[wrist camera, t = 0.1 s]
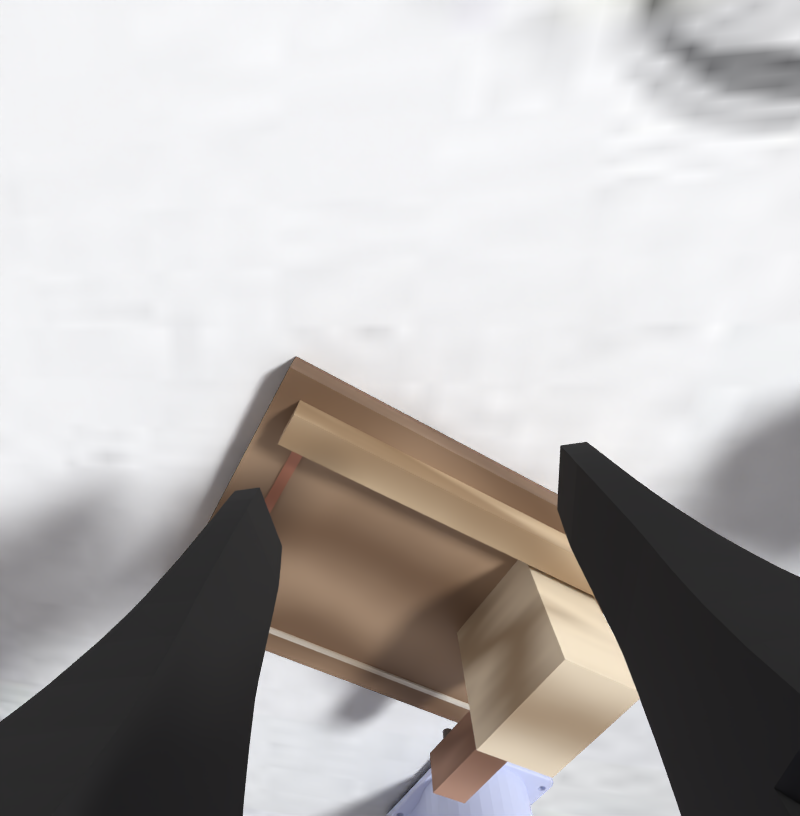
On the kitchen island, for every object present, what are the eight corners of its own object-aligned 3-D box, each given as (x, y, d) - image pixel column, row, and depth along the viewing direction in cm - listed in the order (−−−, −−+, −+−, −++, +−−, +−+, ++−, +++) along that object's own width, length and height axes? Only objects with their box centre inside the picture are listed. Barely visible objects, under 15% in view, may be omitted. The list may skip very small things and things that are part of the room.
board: (481, 709, 30) (491, 759, 28) (173, 589, 26) (148, 635, 23) (641, 538, 26) (672, 579, 23) (296, 356, 21) (282, 379, 18)
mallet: (467, 712, 28) (487, 836, 23) (408, 690, 27) (414, 813, 22) (586, 583, 25) (644, 694, 19) (523, 553, 24) (565, 659, 18)
